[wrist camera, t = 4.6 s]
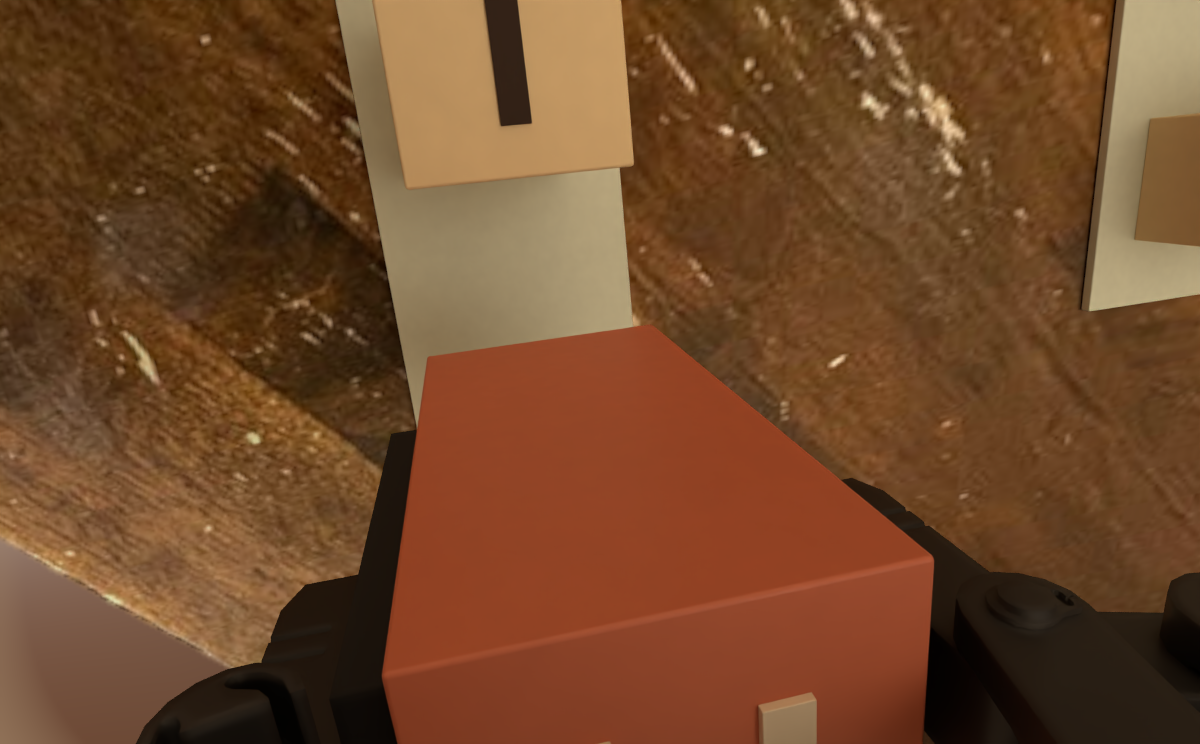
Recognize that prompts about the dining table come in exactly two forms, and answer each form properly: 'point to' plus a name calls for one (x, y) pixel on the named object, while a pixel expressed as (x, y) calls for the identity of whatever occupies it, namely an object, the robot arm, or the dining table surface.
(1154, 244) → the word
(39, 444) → the dining table surface
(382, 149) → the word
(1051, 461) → the dining table surface
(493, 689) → the equals sign block
